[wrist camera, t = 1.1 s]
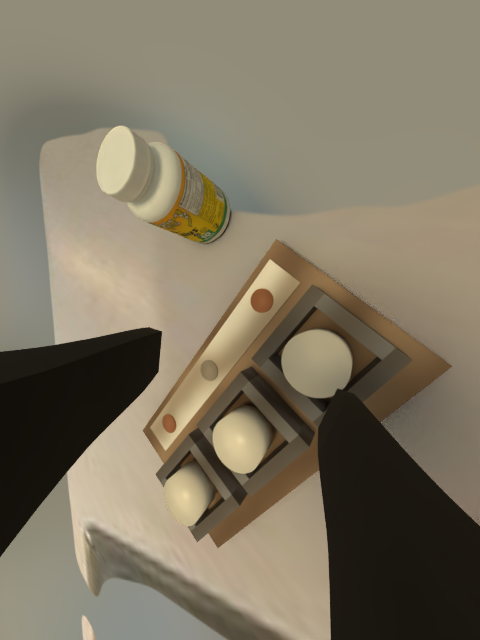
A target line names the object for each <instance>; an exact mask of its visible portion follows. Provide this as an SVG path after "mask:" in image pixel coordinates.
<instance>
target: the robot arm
mask: <svg viewBox="0 0 480 640" xmlns="http://www.w3.org/2000/svg"><path fill="white" fill-rule="evenodd" d="M161 336H162V331H159V330H155V329H152V328H149V327H148V328H140V329H134V330H129V331H124V332H120V333H115V334H110V335H106V336H101V337H96V338H91V339H86V340H80V341H75V342H69V343H64V344H59V345H52V346H45V347H38V348H30V349H22V350H15V351H4V352H0V557H1V555H2V554H3V553H4V551H5V550H6V549H7V547H8V546H9V545H10V543H11V542H12V541H13V539H14V538H15V537H16V535H17V534H18V533H19V532H20V530H21V529H22V528H23V526H24V525H25V524H26V523H27V521H28V520H29V519H30V517H31V516H32V515H33V513H34V512H35V511H36V510H37V508H38V507H39V506H40V504H41V503H42V502H43V501H44V500H45V498H46V497H47V496H48V495H49V493H50V492H51V491H52V490H53V488H54V487H55V486H56V485H57V484H58V482H59V481H60V480H61V479H62V477H63V476H64V475H65V474H66V472H67V471H68V470H69V469H70V468H71V467H72V465H73V464H74V463H75V462H76V461H77V460H78V458H79V457H80V456H81V455H82V454H83V452H84V451H85V450H86V449H87V448H88V447H89V446H90V445H91V443H92V442H93V441H94V440H95V439H96V438H97V437H98V436H99V435H100V434H101V433H102V432H103V431H104V430H105V429H106V428H107V427H108V426H109V425H110V424H111V423H112V422H113V421H114V420H115V419H116V418H117V417H118V416H119V415H120V414H121V413H122V412H123V411H124V410H125V409H126V408H127V407H128V406H129V405H130V404H131V403H132V402H133V401H134V400H135V399H136V398H137V397H138V396H139V395H140V394H141V393H142V392H143V391H144V390H145V389H146V387H147V386H148V385H149V384H150V382H151V381H152V380H153V378H154V377H155V376H156V374H157V373H158V370H159V359H160V348H161ZM318 462H319V471H320V479H321V488H322V496H323V504H324V512H325V521H326V529H327V540H328V554H329V581H330V619H331V640H480V526H479V525H478V524H477V523H476V522H475V521H474V520H473V519H472V518H471V517H469V516H468V515H467V514H466V513H465V512H464V511H463V510H462V509H461V508H460V507H459V506H458V505H457V504H456V503H455V502H454V501H453V500H452V499H451V498H450V497H449V496H448V495H447V494H446V493H445V492H444V491H443V490H442V489H441V488H440V487H439V486H438V485H437V484H436V483H435V482H434V481H433V480H432V479H431V478H430V477H429V476H428V475H427V474H426V473H425V472H424V471H423V470H422V468H421V467H420V466H419V465H418V464H417V463H416V462H415V461H414V460H413V459H412V458H411V457H410V456H409V455H408V453H407V452H406V451H405V450H404V449H403V448H402V447H401V446H400V445H399V444H398V442H397V441H396V440H395V439H394V438H393V437H392V436H391V434H390V433H389V432H388V431H387V430H386V429H385V428H384V426H383V425H382V424H381V423H380V422H379V421H378V419H377V418H376V417H375V416H374V415H373V414H372V413H371V411H370V410H369V409H368V408H367V407H366V406H365V404H364V403H363V402H362V401H361V400H360V399H359V398H358V397H357V396H356V395H355V394H354V393H350V392H347V391H344V390H341V389H338V388H337V390H336V392H335V394H334V396H333V398H332V400H331V402H330V404H329V406H328V409H327V411H326V413H325V415H324V417H323V419H322V421H321V423H320V425H319V427H318Z"/></svg>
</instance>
